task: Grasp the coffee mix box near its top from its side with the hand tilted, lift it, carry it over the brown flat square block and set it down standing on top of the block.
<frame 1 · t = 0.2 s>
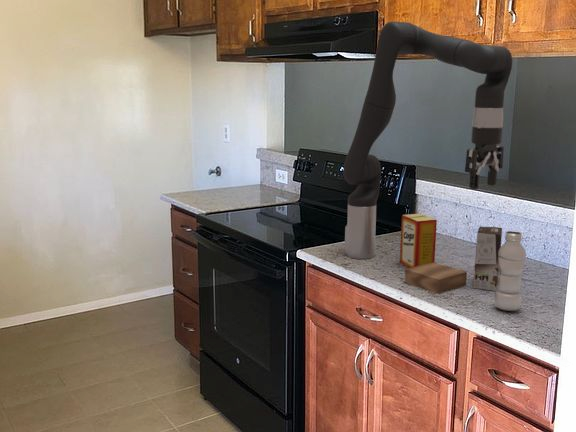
hand: (482, 186, 164), 29 cm above the worktop, tool pointing down, fingers open, 8 cm apart
brown flat square block: (435, 284, 176), on the worktop
baking soda box: (416, 266, 193), on the worktop
plastic bottle: (507, 310, 157), on the worktop
coffee box: (485, 285, 175), on the worktop
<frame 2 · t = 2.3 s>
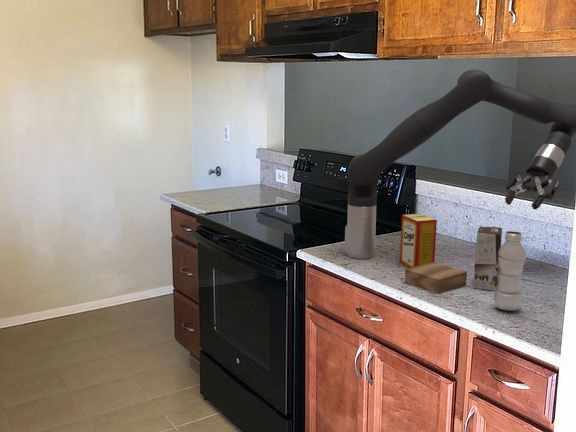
hand: (520, 205, 179), 21 cm above the worktop, tool tilted 45°, fingers open, 8 cm apart
nothing on the worktop moved.
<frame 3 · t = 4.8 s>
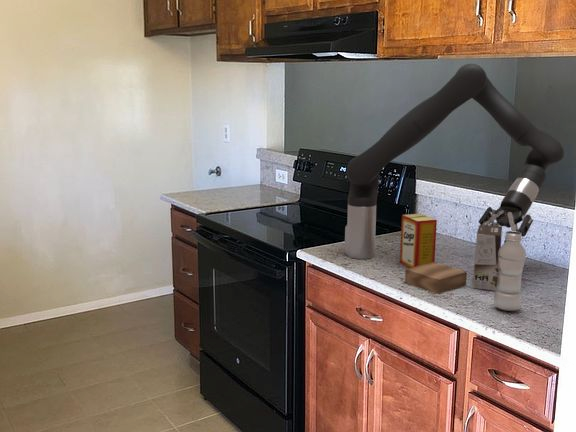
hand: (493, 241, 174), 12 cm above the worktop, tool tilted 45°, fingers open, 8 cm apart
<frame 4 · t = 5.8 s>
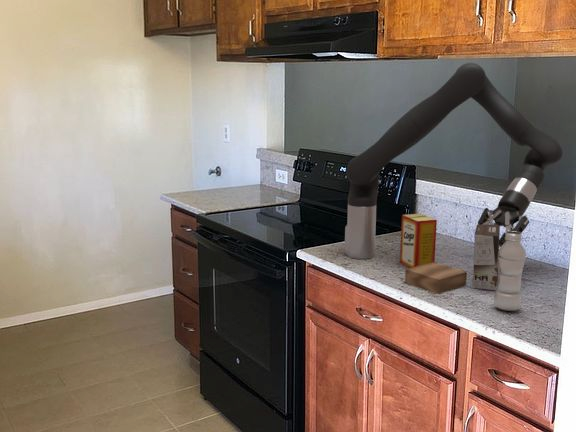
hand: (489, 242, 174), 12 cm above the worktop, tool tilted 45°, fingers closed on coffee box, 6 cm apart
coffee box: (485, 283, 175), on the worktop, touching gripper
everything else where it was.
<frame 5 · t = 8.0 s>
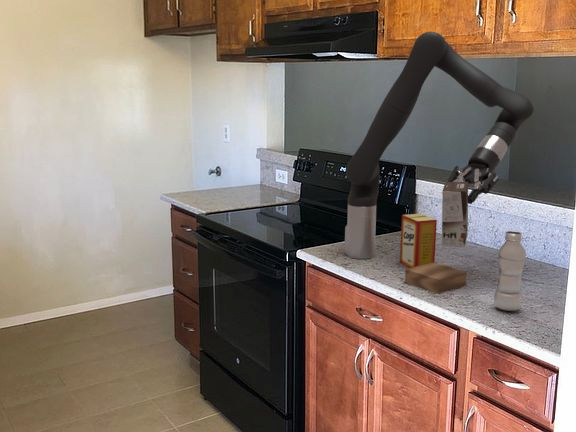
hand: (458, 199, 171), 24 cm above the worktop, tool tilted 45°, fingers closed on coffee box, 6 cm apart
coffee box: (454, 241, 173), point 13 cm above the worktop, touching gripper
everything else where it was.
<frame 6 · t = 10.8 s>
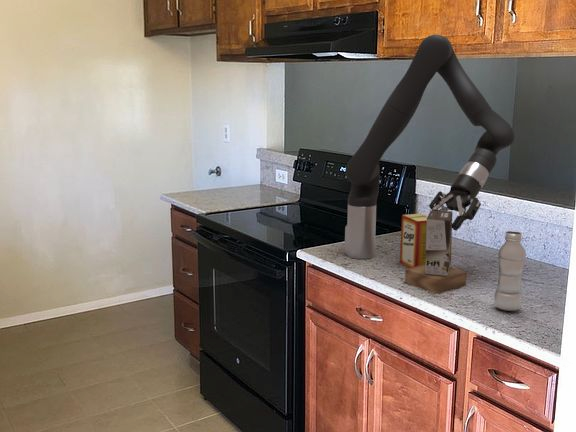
hand: (441, 225, 173), 17 cm above the worktop, tool tilted 45°
coffee box: (438, 270, 175), point 4 cm above the worktop, touching gripper, brown flat square block
everything else where it was.
when the fingers open (17 cm above the worktop, at t = 11.3 s): coffee box stays where it is, resting on brown flat square block.
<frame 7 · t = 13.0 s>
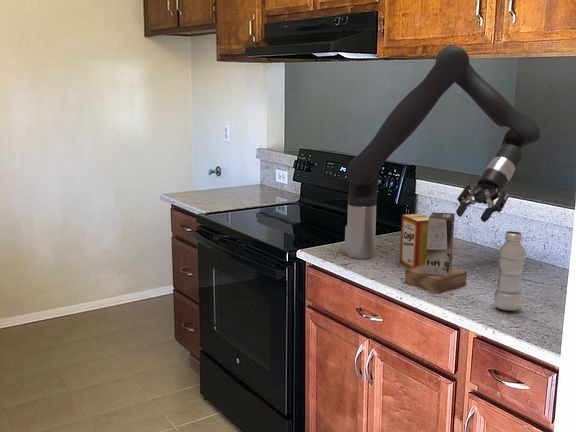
hand: (470, 217, 181), 17 cm above the worktop, tool tilted 45°, fingers open, 8 cm apart
coffee box: (438, 271, 175), point 4 cm above the worktop, touching brown flat square block
everything else where it was.
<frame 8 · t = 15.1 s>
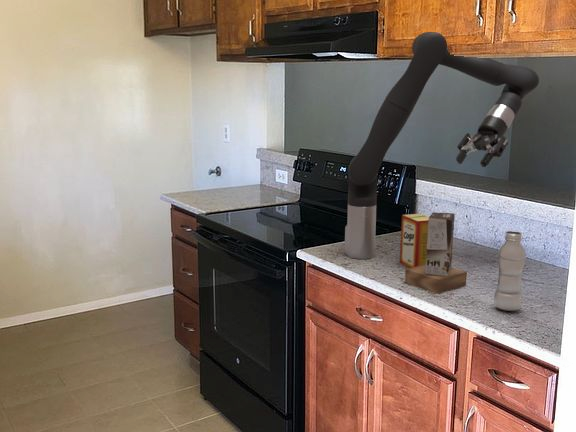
hand: (470, 163, 182), 33 cm above the worktop, tool tilted 45°, fingers open, 8 cm apart
nothing on the worktop moved.
at the end: coffee box inside the target area on the brown flat square block (0.7 cm from its centre), point 3.8 cm above the brown flat square block's base; coffee box tilted 0°; the gripper is holding nothing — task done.
